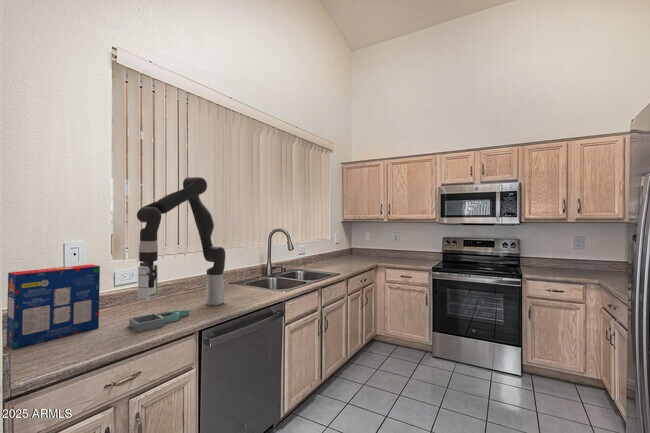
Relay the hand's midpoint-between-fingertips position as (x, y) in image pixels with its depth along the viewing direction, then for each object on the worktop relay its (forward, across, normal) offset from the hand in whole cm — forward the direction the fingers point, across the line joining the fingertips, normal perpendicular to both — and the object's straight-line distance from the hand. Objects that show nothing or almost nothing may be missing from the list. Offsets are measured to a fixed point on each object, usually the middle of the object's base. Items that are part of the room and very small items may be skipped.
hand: (147, 286), depth 148 cm
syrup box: (+5, 0, 0) cm, 5 cm away
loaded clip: (+18, +6, -17) cm, 26 cm away
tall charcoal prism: (+18, +7, -10) cm, 22 cm away
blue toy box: (+18, +12, +31) cm, 38 cm away
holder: (+18, 0, 0) cm, 18 cm away
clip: (+18, 0, -10) cm, 21 cm away
